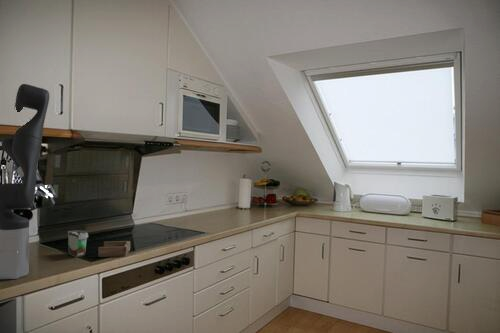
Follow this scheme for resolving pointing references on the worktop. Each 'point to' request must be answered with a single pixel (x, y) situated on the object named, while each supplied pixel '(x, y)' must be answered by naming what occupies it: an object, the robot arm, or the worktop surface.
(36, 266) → the worktop surface
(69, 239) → the food container
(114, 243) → the walnut tray
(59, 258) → the worktop surface
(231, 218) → the worktop surface
